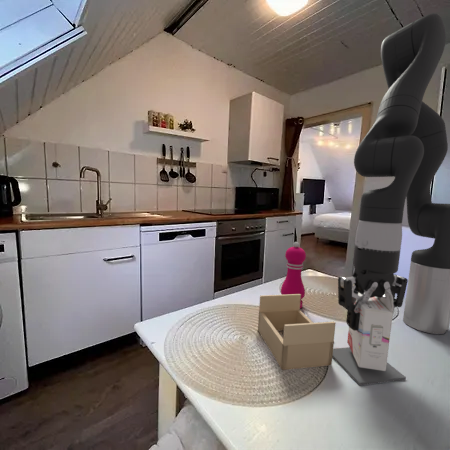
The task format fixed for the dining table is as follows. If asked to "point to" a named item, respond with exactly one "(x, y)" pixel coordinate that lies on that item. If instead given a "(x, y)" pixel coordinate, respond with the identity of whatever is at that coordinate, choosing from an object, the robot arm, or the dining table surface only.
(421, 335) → the dining table surface
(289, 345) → the carton
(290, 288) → the pepper mill
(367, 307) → the ink cartridge box
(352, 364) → the mat
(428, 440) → the dining table surface
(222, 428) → the dining table surface
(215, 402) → the dining table surface
